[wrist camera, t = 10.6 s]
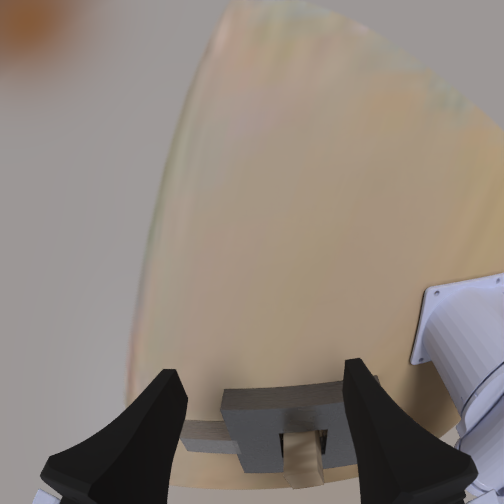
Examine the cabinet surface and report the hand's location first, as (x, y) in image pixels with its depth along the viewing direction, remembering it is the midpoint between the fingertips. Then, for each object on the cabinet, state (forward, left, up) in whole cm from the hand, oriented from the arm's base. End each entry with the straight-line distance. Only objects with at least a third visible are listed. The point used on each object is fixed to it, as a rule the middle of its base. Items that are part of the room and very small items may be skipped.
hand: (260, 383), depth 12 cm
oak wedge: (-2, +18, -9) cm, 20 cm away
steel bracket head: (+1, +18, -9) cm, 20 cm away
